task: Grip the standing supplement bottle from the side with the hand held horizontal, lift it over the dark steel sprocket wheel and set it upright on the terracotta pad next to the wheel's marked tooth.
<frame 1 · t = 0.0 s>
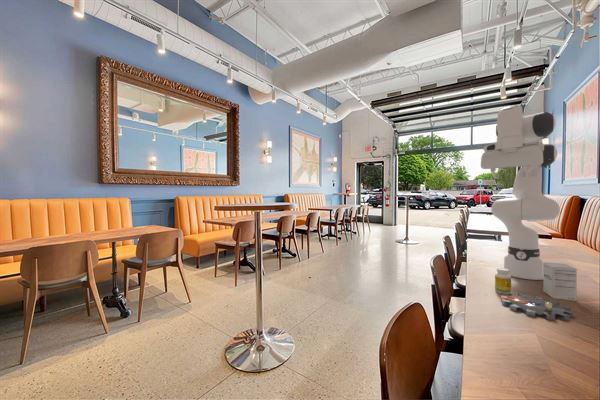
hand: (510, 177, 107), 48 cm above the table, tool pointing down, fingers open, 8 cm apart
supplement bottle: (503, 292, 107), on the table
supplement box: (559, 296, 101), on the table
sprocket wheel: (534, 307, 91), on the table
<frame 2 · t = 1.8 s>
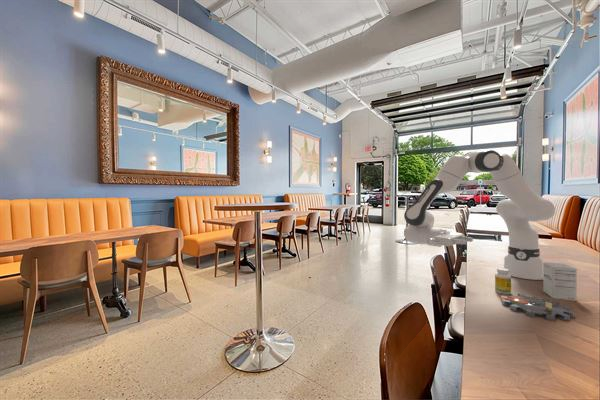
hand: (469, 241, 116), 20 cm above the table, tool horizontal, fingers open, 8 cm apart
nothing on the table moved.
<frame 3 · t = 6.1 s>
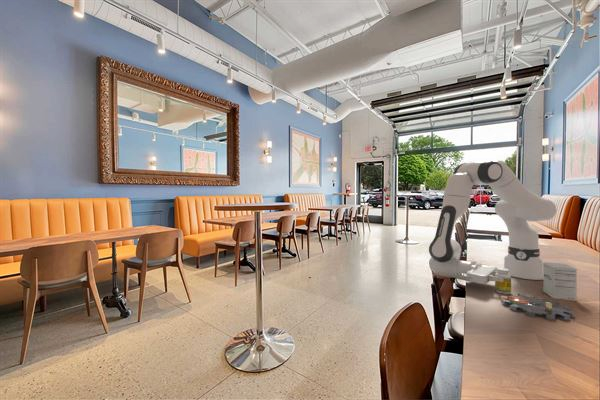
hand: (505, 278, 106), 6 cm above the table, tool horizontal, fingers closed on supplement bottle, 5 cm apart
supplement bottle: (503, 292, 107), on the table, touching gripper
everything else where it was.
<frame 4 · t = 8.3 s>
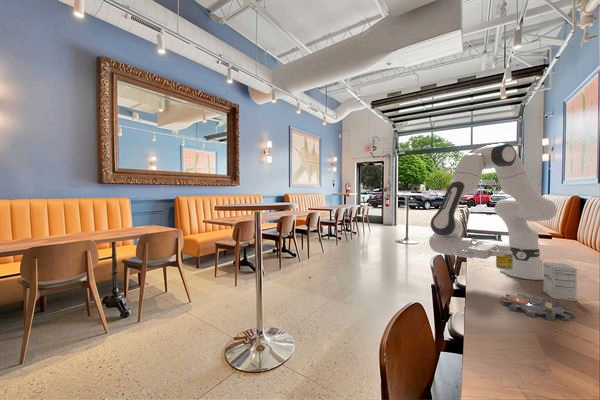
hand: (507, 253, 104), 17 cm above the table, tool horizontal, fingers closed on supplement bottle, 5 cm apart
supplement bottle: (504, 268, 105), point 10 cm above the table, touching gripper
everything else where it was.
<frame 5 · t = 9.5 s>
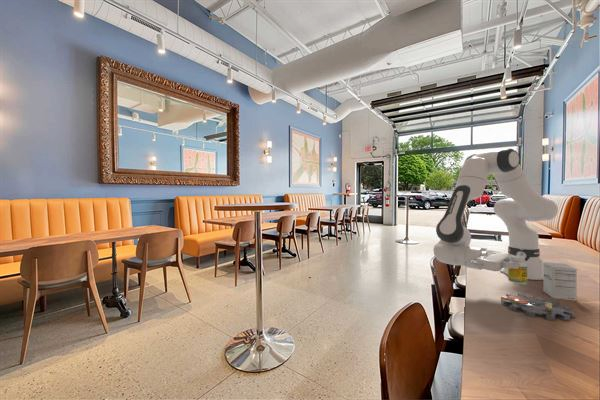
hand: (520, 264, 94), 15 cm above the table, tool horizontal, fingers closed on supplement bottle, 5 cm apart
supplement bottle: (517, 282, 94), point 8 cm above the table, touching gripper
everything else where it was.
when the fingers open (9 cm above the table, at t = 10.9 s): supplement bottle stays where it is, resting on sprocket wheel.
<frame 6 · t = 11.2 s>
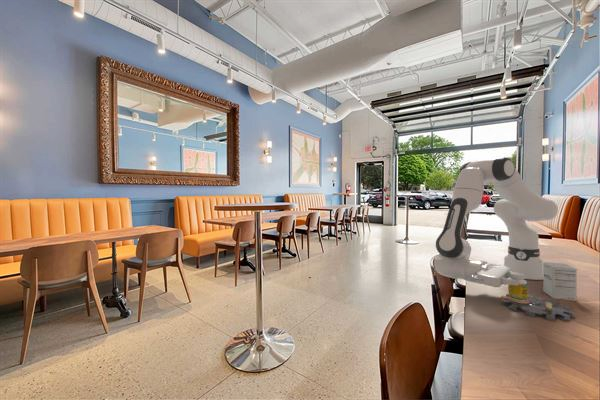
hand: (521, 280, 94), 9 cm above the table, tool horizontal, fingers open, 8 cm apart
supplement bottle: (517, 299, 95), point 2 cm above the table, touching sprocket wheel
everything else where it was.
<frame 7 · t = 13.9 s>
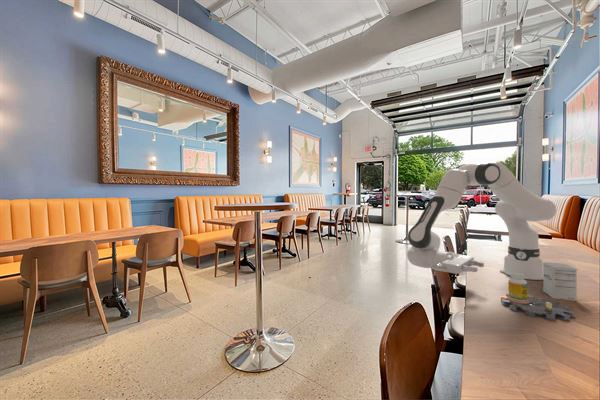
hand: (480, 267, 105), 11 cm above the table, tool horizontal, fingers open, 8 cm apart
nothing on the table moved.
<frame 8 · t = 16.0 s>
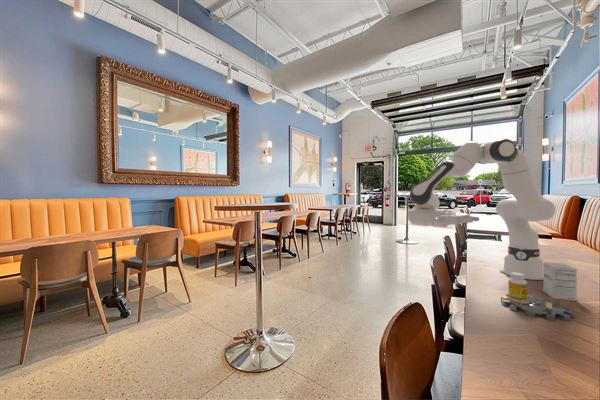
hand: (475, 219, 112), 30 cm above the table, tool horizontal, fingers open, 8 cm apart
nothing on the table moved.
at the end: supplement bottle 0.1 cm from the target spot on the sprocket wheel, point 1.5 cm above the sprocket wheel's base; supplement bottle tilted 0°; the gripper is holding nothing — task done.
